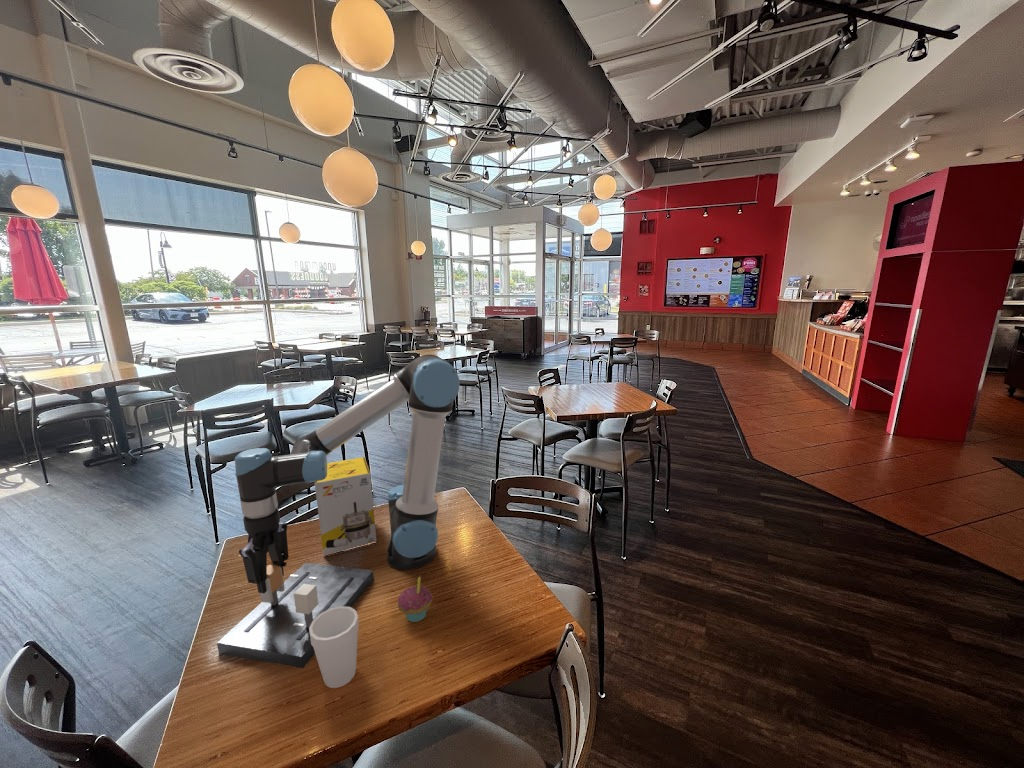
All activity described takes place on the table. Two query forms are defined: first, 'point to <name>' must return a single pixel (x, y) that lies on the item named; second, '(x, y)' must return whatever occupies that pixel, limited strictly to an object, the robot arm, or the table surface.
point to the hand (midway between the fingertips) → (273, 595)
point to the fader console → (293, 616)
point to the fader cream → (306, 601)
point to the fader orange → (274, 581)
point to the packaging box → (345, 506)
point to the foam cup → (336, 644)
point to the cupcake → (415, 602)
